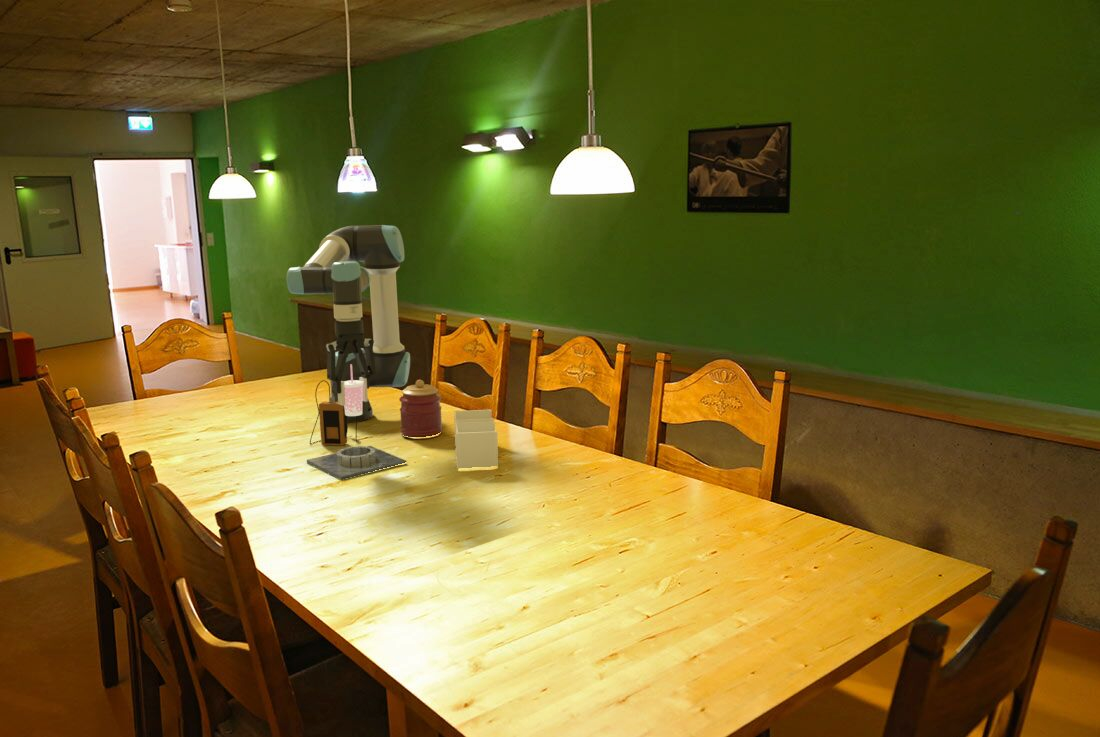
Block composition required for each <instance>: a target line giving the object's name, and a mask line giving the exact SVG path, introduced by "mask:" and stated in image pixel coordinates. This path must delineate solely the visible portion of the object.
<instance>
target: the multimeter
mask: <svg viewBox="0 0 1100 737" xmlns="http://www.w3.org/2000/svg"><path fill="white" fill-rule="evenodd" d="M322 382H325V383H326V384H327V385H328V392H329V393H328V394H329V396H328V401H326V400H325V401H321V402H320V403H319V404H318V399H317V390H318V389H319V385H320V384H322ZM333 386H334V384H333ZM333 386H332V390H333ZM314 392H315V395H314V396H315V402H316V406H317V410H318V414H317V417H316V421H315V423H314V426H313V428H312V433H311V436H310V439H309V445H313V444H316V443H319V442H321V446H324V445H326V446H340V447H343V446H345V445H346V444H347V443H348V438H350V439H351V440H352V439H353V440H352V441H355V440H356V441H355V442H356V444H360V443H359V441H360V440H359V439H357V437H358V436H357V430H358V427H357V426H358V424H357V423H358V422H357V416H356V422H355V438H354V437H353V436H352V435H350V436H348V430H349V429H348V428H349V424H348V423H349V422H347V416H346V415H345V408H344V406H343V405H340V404H338V402H335V399H334V393H332V394H333V398H332V400H333V402H331V385H330V383H329V382H328V381H326V380H321V381H319V383H317V385H316V389H315V391H314ZM318 419H319V420H318ZM318 421H319V428H320V430H319V431H320V440H318V441H319V442H318V441H317V440H316V441H314V442H312V437H313V434H314V431H315V428H316V425H317V422H318ZM352 437H353V438H352ZM315 442H316V443H315ZM312 443H313V444H312Z"/></svg>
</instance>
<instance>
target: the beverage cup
mask: <svg viewBox="0 0 1100 737" xmlns="http://www.w3.org/2000/svg"><path fill="white" fill-rule="evenodd" d="M350 369H351V380H349V381H344V386H345V404H346V405H344V408H345V415H346V416H359V415H362V401H363V385H364V384H363V383H364V382H363V381H360V380H353V373H352V364H350Z"/></svg>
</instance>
